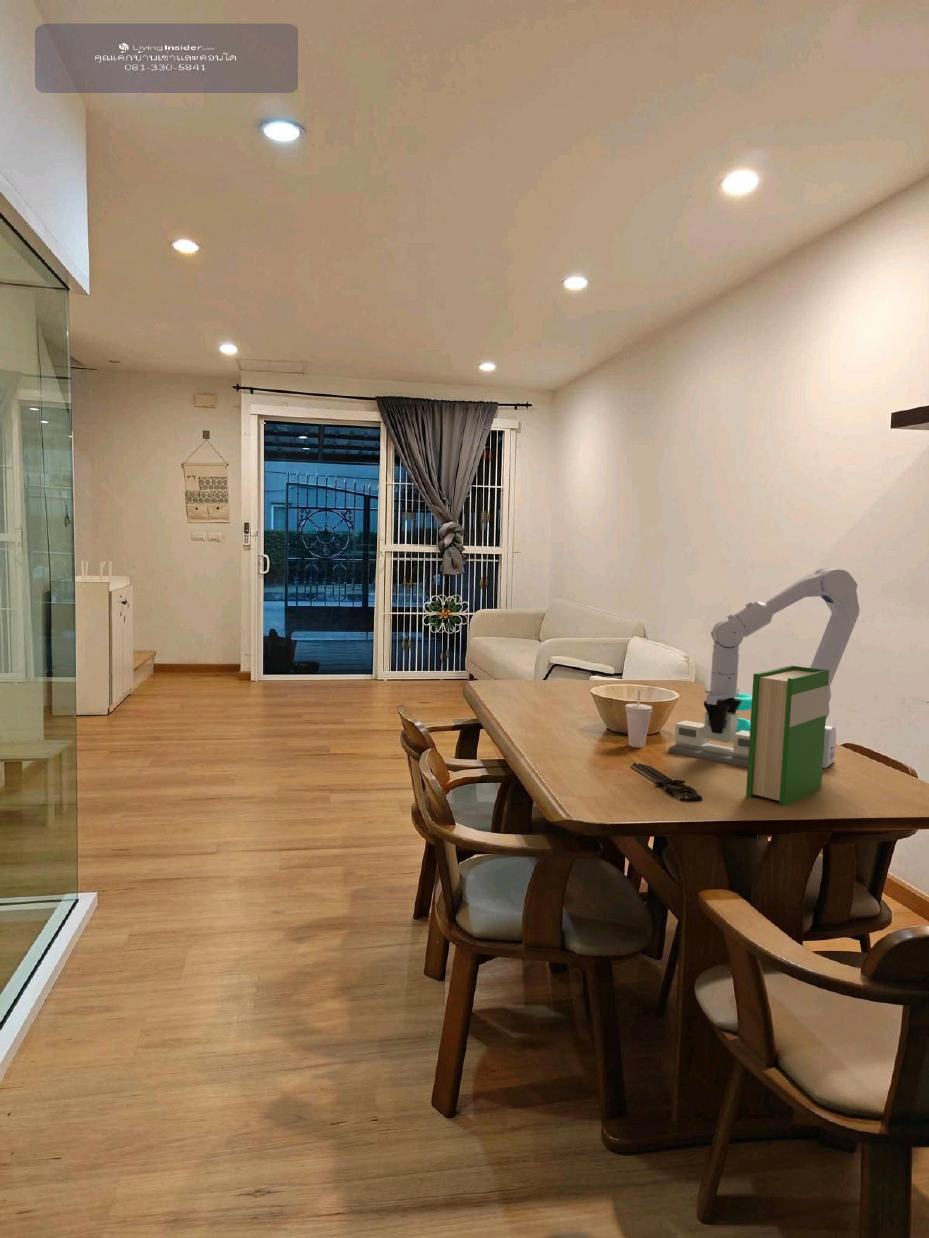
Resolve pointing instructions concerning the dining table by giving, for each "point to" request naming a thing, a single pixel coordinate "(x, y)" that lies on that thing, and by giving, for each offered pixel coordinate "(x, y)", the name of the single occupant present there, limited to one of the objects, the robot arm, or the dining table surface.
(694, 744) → the plate
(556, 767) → the dining table surface
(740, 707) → the donuts
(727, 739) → the block
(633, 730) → the smoothie
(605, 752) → the dining table surface
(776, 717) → the hardback book
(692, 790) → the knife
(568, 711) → the dining table surface
